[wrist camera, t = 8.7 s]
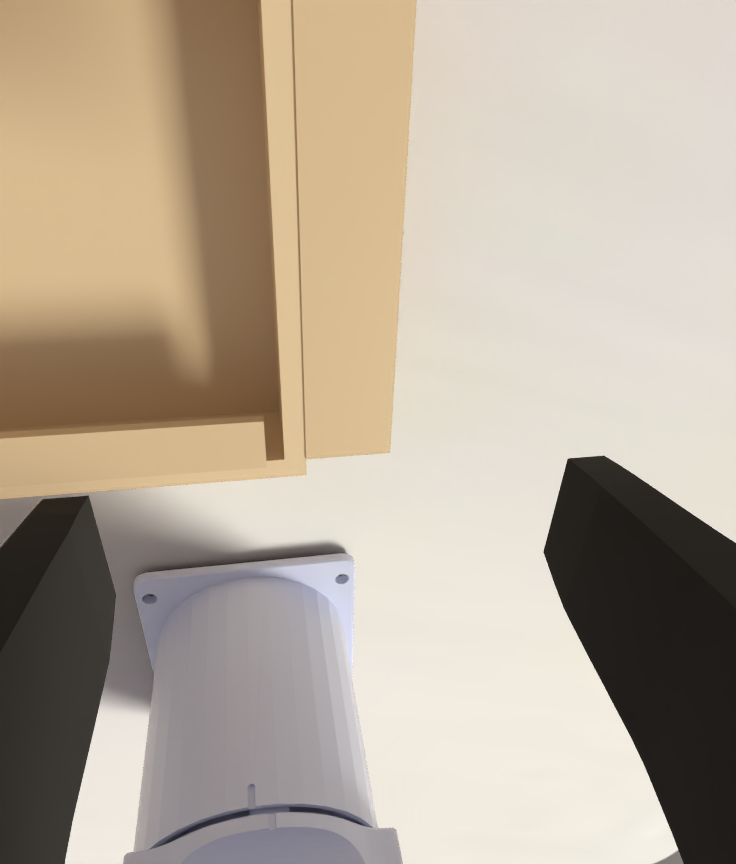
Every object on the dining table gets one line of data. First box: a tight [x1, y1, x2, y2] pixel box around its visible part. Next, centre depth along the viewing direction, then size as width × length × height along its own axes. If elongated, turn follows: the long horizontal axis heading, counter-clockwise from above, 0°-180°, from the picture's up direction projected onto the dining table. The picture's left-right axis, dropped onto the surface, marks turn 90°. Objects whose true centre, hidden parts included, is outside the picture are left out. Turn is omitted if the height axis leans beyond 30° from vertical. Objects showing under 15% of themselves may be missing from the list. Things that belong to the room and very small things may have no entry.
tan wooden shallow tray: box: [0, 0, 416, 499], centre depth 15 cm, size 14×17×3 cm
